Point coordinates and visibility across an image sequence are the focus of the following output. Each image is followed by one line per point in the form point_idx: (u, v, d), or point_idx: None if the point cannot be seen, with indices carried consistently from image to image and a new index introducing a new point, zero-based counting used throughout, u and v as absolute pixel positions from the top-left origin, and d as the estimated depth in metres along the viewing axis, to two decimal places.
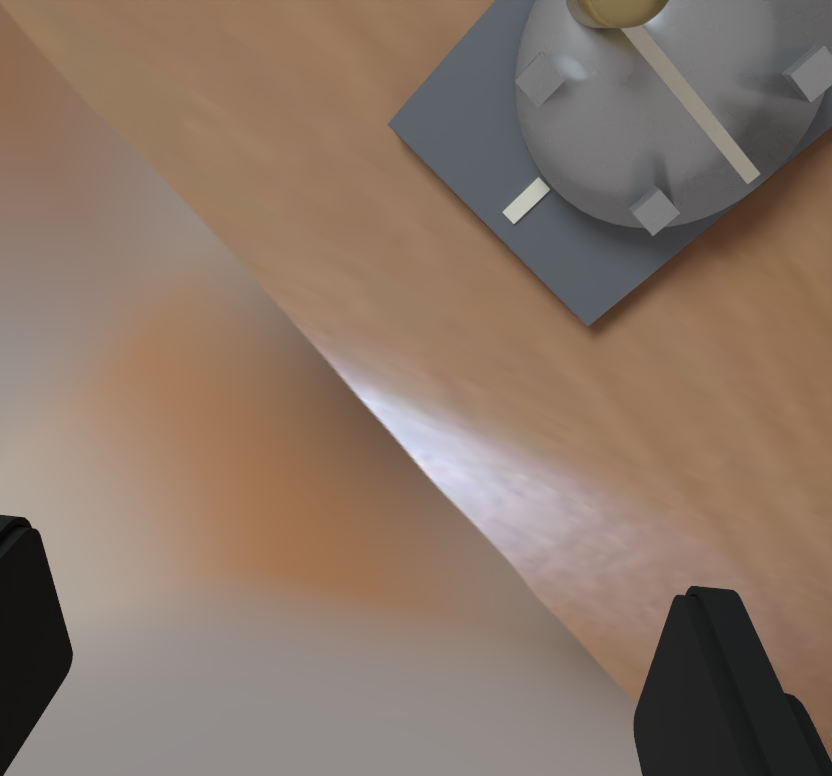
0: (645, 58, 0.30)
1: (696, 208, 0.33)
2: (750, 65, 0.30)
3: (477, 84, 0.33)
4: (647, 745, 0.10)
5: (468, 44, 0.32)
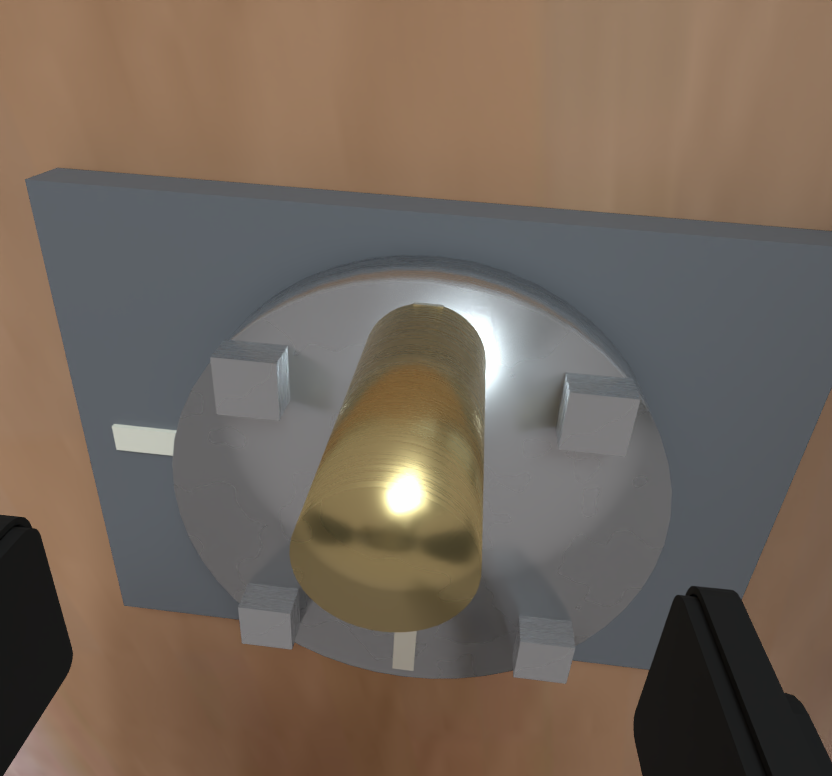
0: None
1: (322, 642, 0.22)
2: (499, 582, 0.20)
3: (201, 267, 0.18)
4: (647, 745, 0.10)
5: (229, 212, 0.17)
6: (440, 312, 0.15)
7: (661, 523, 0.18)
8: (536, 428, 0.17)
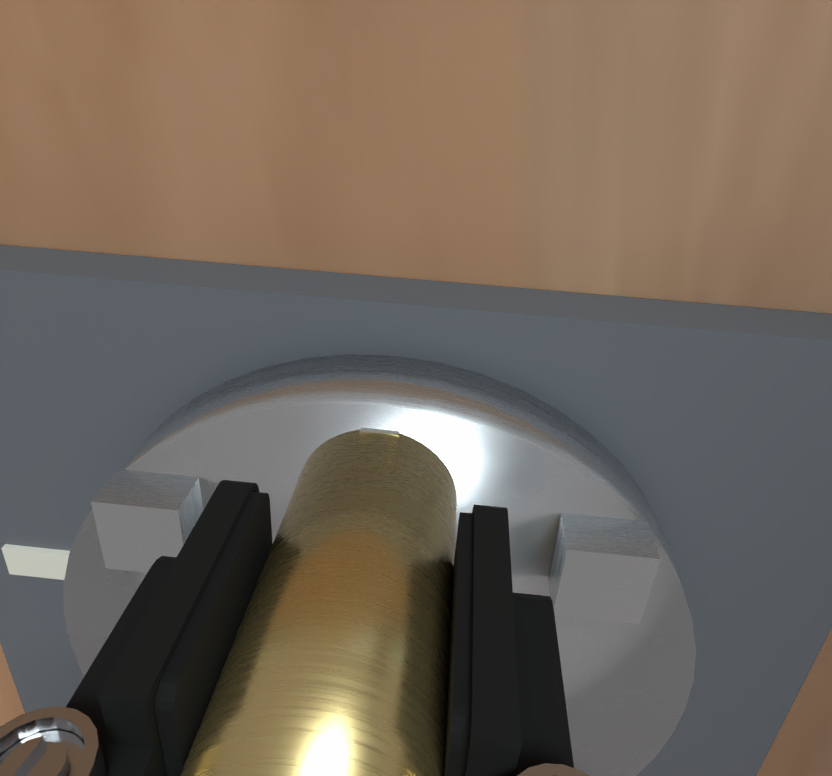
0: None
1: None
2: None
3: (97, 365, 0.14)
4: None
5: (128, 299, 0.14)
6: (394, 444, 0.11)
7: (682, 685, 0.14)
8: (523, 577, 0.13)
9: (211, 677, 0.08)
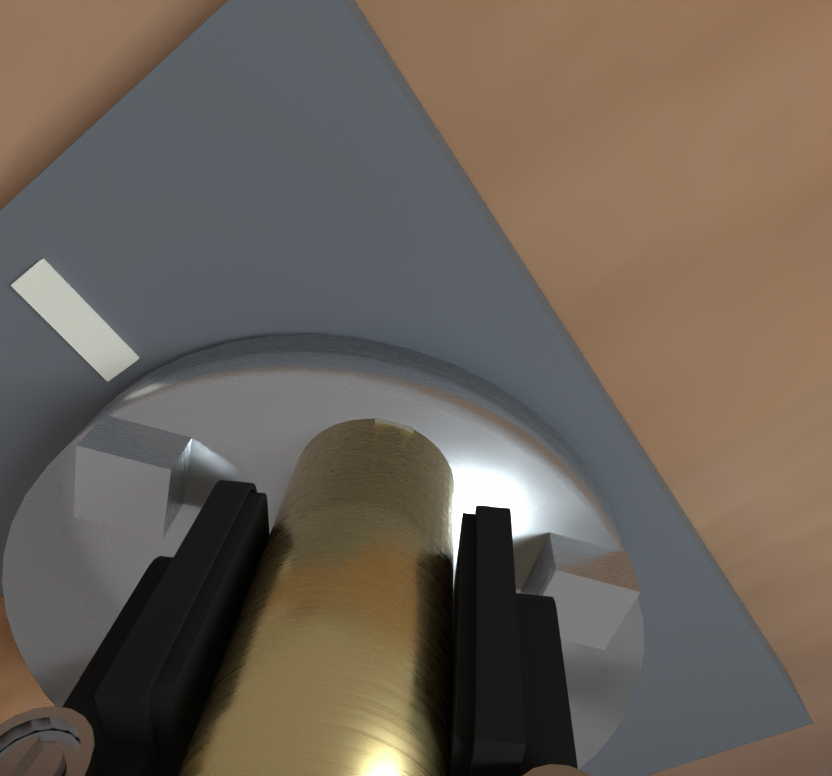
0: None
1: None
2: None
3: (373, 245, 0.12)
4: None
5: (470, 239, 0.12)
6: (409, 440, 0.11)
7: (618, 710, 0.15)
8: None
9: (208, 677, 0.08)
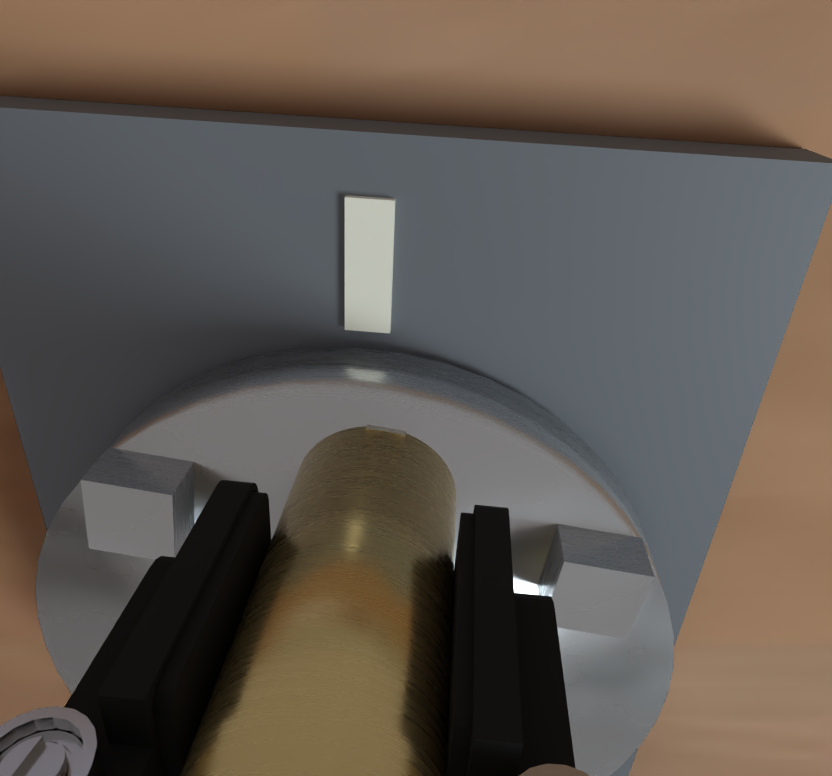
0: None
1: None
2: None
3: (661, 390, 0.13)
4: None
5: (727, 434, 0.14)
6: (401, 444, 0.11)
7: (655, 698, 0.15)
8: None
9: (210, 677, 0.08)
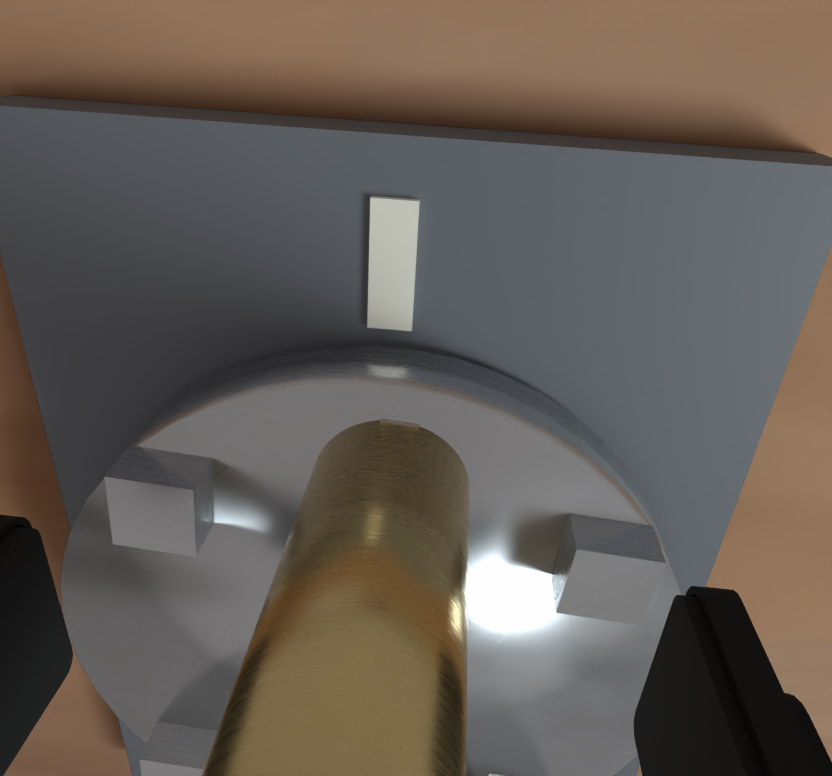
0: None
1: None
2: (467, 738, 0.16)
3: (676, 388, 0.14)
4: (647, 745, 0.10)
5: (741, 433, 0.14)
6: (414, 437, 0.12)
7: None
8: (527, 574, 0.13)
9: None
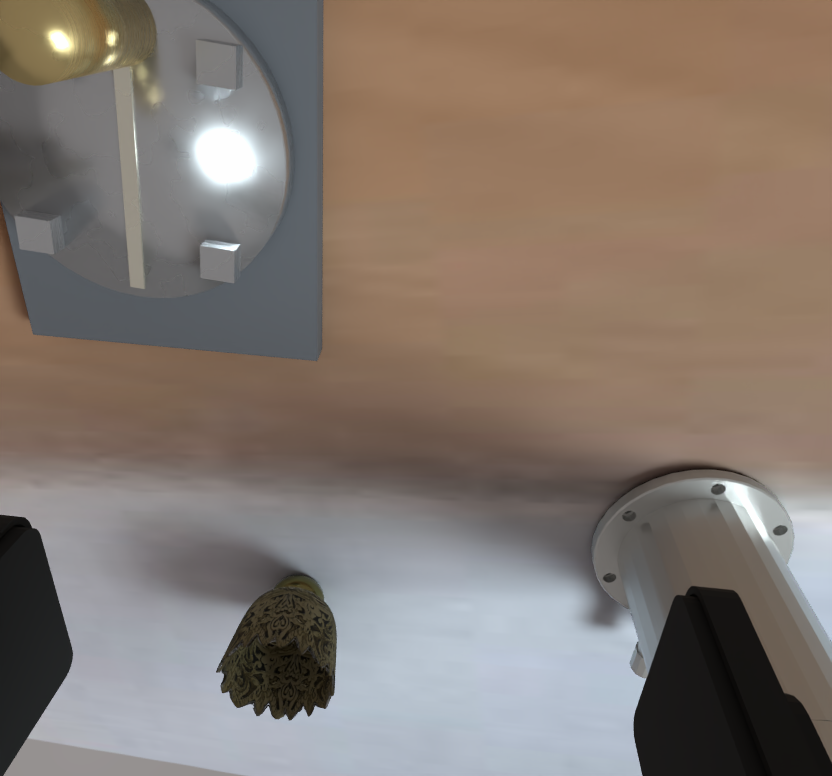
0: (117, 117, 0.29)
1: (81, 264, 0.32)
2: (190, 209, 0.31)
3: None
4: (647, 745, 0.10)
5: (307, 23, 0.29)
6: None
7: (280, 160, 0.29)
8: (193, 81, 0.28)
9: None
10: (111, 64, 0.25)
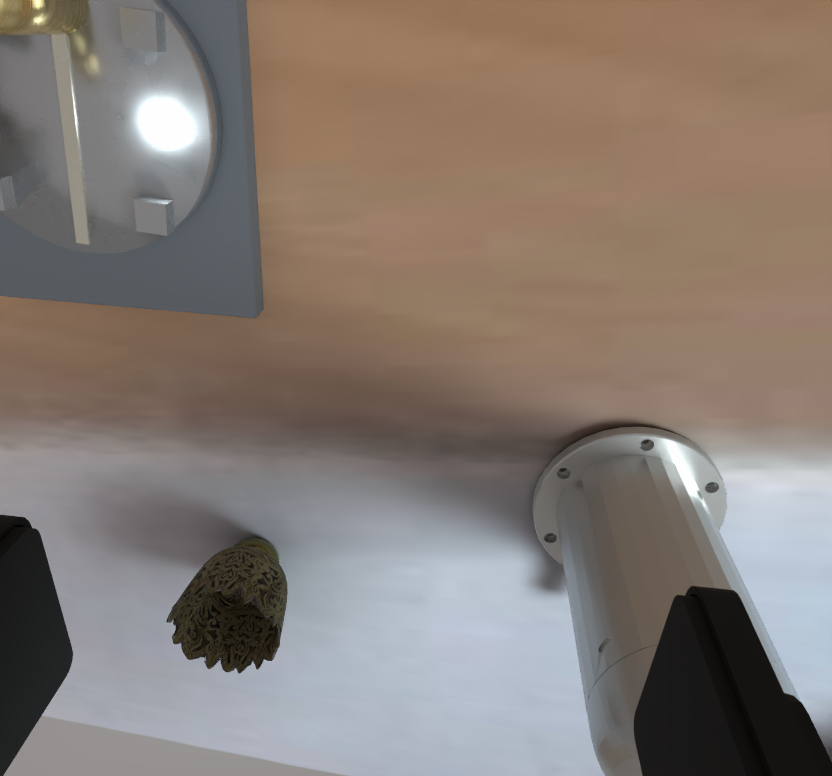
0: (57, 82, 0.32)
1: (32, 222, 0.35)
2: (126, 168, 0.34)
3: None
4: (647, 745, 0.10)
5: None
6: None
7: (204, 119, 0.32)
8: (122, 47, 0.31)
9: None
10: (39, 25, 0.28)
